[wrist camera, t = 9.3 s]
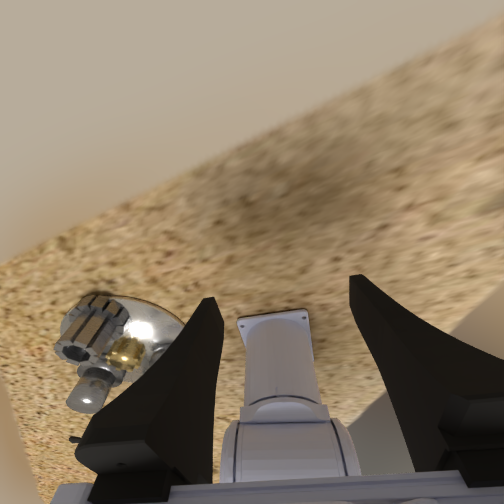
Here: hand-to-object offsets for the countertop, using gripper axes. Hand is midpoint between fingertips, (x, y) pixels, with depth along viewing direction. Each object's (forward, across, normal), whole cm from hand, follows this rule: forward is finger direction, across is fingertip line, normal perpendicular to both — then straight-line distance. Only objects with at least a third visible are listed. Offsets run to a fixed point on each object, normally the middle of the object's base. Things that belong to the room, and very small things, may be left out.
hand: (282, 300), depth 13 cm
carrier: (+10, +20, +13) cm, 26 cm away
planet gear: (+9, +20, +7) cm, 23 cm away
